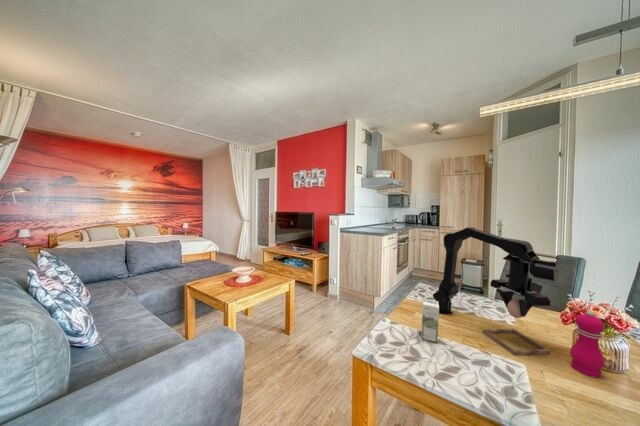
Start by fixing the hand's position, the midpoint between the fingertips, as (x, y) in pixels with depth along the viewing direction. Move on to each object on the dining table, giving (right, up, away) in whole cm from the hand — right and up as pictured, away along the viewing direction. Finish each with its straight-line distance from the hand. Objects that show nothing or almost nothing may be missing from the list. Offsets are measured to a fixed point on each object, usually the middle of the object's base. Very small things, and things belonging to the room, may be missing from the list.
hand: (515, 312), depth 86 cm
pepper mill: (+11, -13, -13) cm, 22 cm away
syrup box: (-33, -11, +3) cm, 35 cm away
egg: (0, -2, 0) cm, 2 cm away
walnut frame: (0, -12, +1) cm, 12 cm away
